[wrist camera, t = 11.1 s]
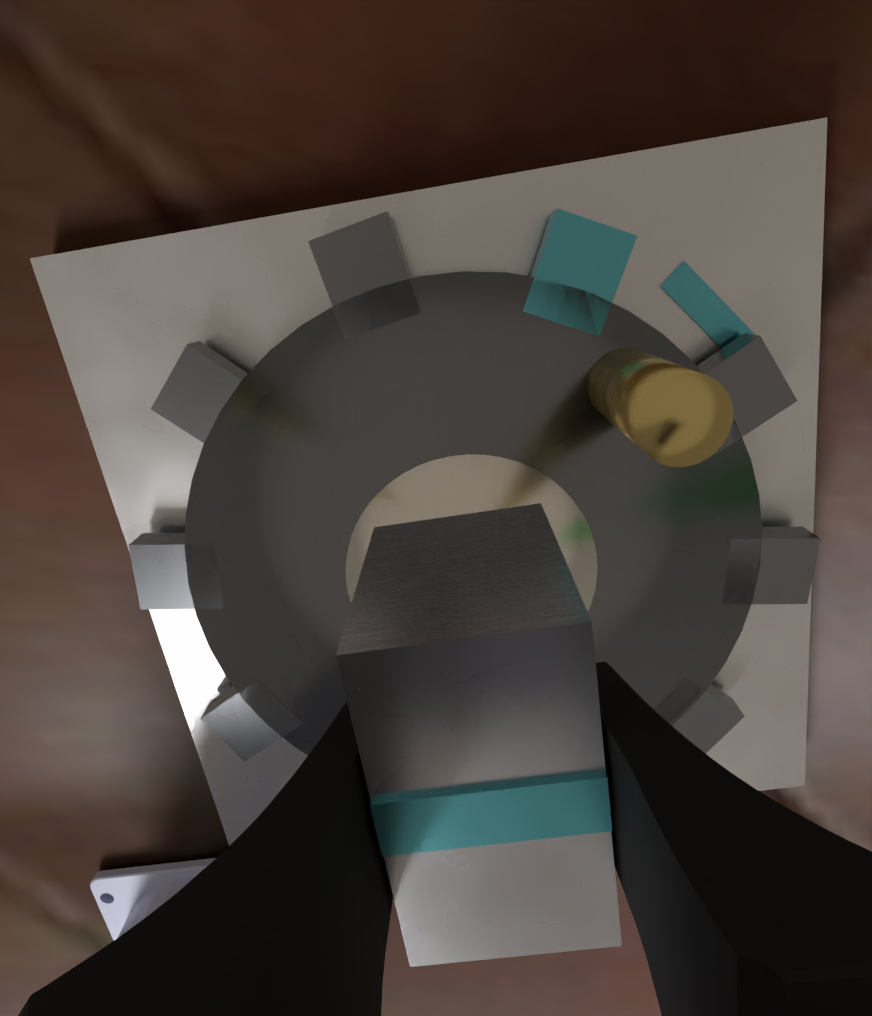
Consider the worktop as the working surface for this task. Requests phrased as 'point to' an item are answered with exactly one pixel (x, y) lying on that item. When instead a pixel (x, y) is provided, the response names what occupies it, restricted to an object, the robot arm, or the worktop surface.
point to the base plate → (478, 248)
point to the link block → (482, 738)
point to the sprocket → (472, 473)
